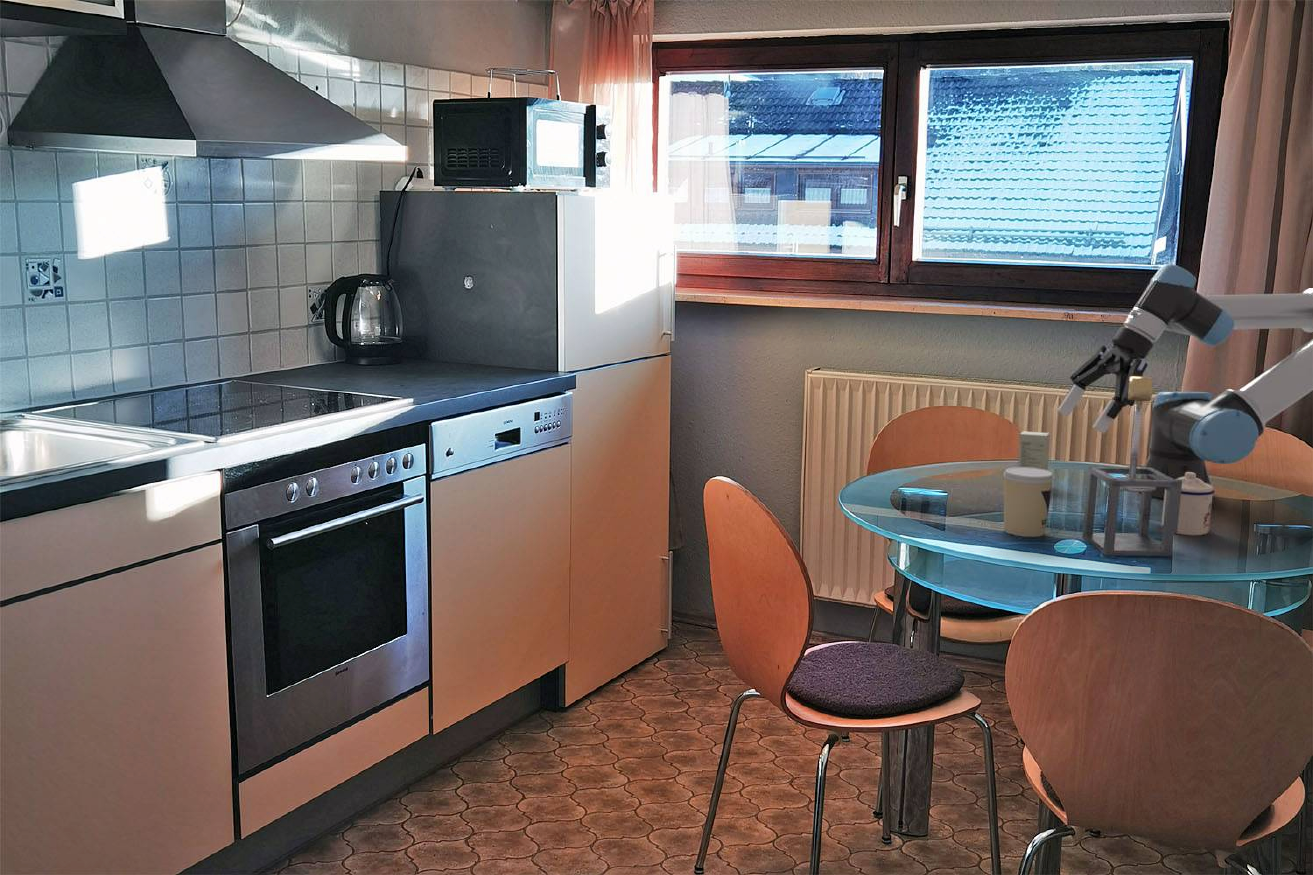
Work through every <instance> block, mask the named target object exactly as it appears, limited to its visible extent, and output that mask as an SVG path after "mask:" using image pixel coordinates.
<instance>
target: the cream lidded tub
mask: <svg viewBox="0 0 1313 875" xmlns="http://www.w3.org/2000/svg"><path fill="white" fill-rule="evenodd" d="M1003 477H1004V478H1003V530H1004V532H1006V533H1007V534H1009V535H1012V534H1013V536H1017V537H1026V538H1031V537H1032V538H1033V537H1034V538H1037V537H1042V536H1044V535H1045V534H1046V527H1047V523H1048V515H1049V511H1050V503H1051V497H1052V490H1053V484H1054V483H1053V482H1054V479H1055V477H1054V474H1053V472H1052V471H1049V469H1048V470H1044V469H1039V468H1031V467H1018V466H1015V467H1014V466H1013V467H1008V468H1006V469H1005V471H1004V472H1003Z"/></svg>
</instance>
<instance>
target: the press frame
mask: <svg viewBox="0 0 1313 875" xmlns="http://www.w3.org/2000/svg"><path fill="white" fill-rule="evenodd" d="M1129 469H1130V466H1088V472H1087V480H1086V482H1087V483H1086V492H1085V494H1086V495H1085V506H1084V518H1083V529H1082V539H1083V540H1085V541H1087V542H1088V543H1089V544H1090V545H1092V546H1093V547H1094V548H1095V549H1096V550H1098V551H1099V552H1101V553H1102V554H1104V555H1105V557H1106V556H1108V557H1109V556H1110V557H1111V556H1112V557H1115V556H1117V557H1123V556H1124V557H1172V554H1173V544H1174V534H1176V533H1177V528H1178V518H1179V508H1180V499H1181V489H1182V480H1180V479H1173V478H1171V477H1169V476H1167V475H1165V474H1163V473H1161V472H1159V471H1157V470H1155V469H1153V468H1151V467H1139V466H1137V469H1136V475H1141V474H1143V479H1144V480H1132V479H1116V478H1117V477H1114V476H1112V475H1129ZM1111 474H1112V475H1111ZM1154 478H1155V479H1157V480H1153V479H1154ZM1099 479H1100V480H1101V481H1102V482H1104V483H1106V484H1109V486H1108V493H1107V495H1108V497H1107V503H1106V504H1107V506H1106V514H1105V515H1106V518H1105V528H1104V532H1094V526H1095V525H1094V524H1095V514H1096V505H1097V504H1096V503H1097V493H1098V481H1099ZM1120 486H1123V487H1167V493H1166V504H1165V514H1164V524H1163V525H1162V524H1156V525H1155V532H1157V533H1158V534H1159V533H1162V537H1161V542H1159V541H1157V540H1156V539H1154V538H1153V537H1151V536H1150V535H1149V529H1150V520H1151V519H1150V518H1151V508H1152V497H1153V496H1152V491H1150V492H1142V493H1141V496H1140V497H1141V498H1140V506H1139V507H1140V508H1139V517H1138V530H1137V532H1136V533H1134V532H1117V522H1118V513H1119V512H1118V511H1119V500H1120V491H1121V490H1120Z"/></svg>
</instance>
